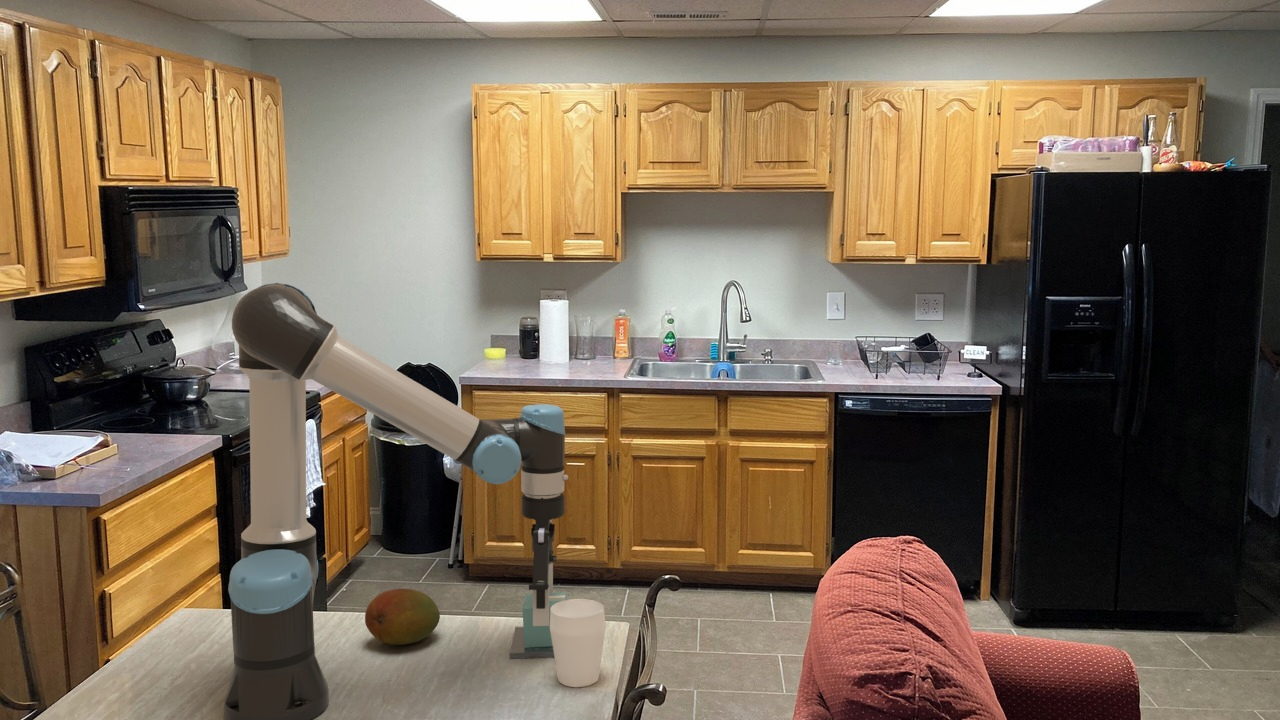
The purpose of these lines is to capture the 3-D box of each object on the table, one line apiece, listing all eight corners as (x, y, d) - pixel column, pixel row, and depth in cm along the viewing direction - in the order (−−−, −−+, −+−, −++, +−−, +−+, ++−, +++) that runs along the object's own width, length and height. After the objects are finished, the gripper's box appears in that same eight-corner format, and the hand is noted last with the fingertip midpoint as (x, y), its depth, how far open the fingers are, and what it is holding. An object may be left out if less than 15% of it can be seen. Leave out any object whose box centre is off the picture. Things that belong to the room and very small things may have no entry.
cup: (598, 693, 160) (597, 619, 158) (543, 688, 161) (542, 616, 160) (611, 669, 168) (610, 600, 167) (559, 665, 170) (558, 596, 169)
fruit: (355, 647, 179) (353, 593, 178) (404, 624, 190) (402, 573, 189) (405, 660, 173) (403, 604, 172) (452, 635, 184) (451, 582, 183)
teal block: (524, 647, 176) (522, 605, 175) (527, 631, 183) (525, 590, 182) (566, 645, 176) (565, 603, 175) (568, 629, 183) (566, 589, 182)
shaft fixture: (509, 658, 173) (508, 624, 173) (515, 632, 185) (514, 600, 185) (579, 656, 174) (579, 623, 173) (581, 630, 186) (580, 599, 185)
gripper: (561, 511, 164) (561, 637, 166) (567, 477, 189) (566, 587, 191) (515, 511, 164) (516, 637, 166) (526, 477, 189) (527, 587, 191)
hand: (543, 611), depth 179 cm, fingers open, 13 cm apart
